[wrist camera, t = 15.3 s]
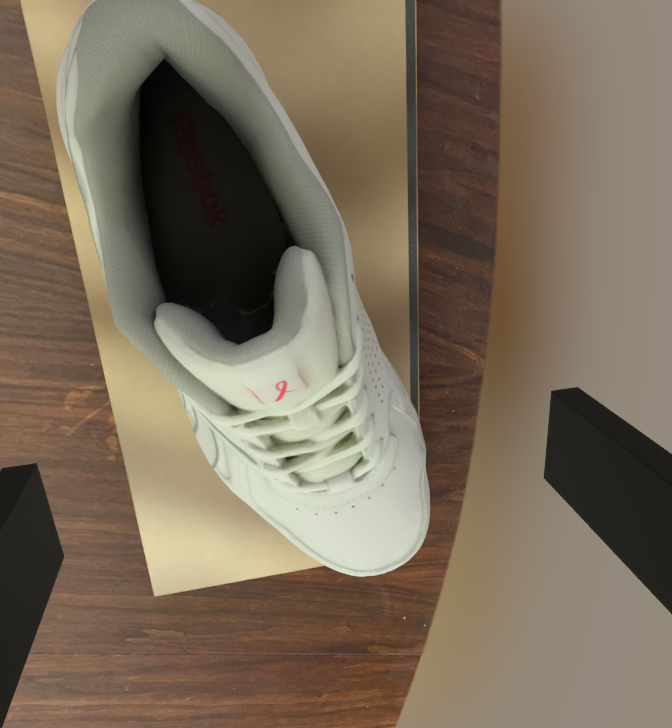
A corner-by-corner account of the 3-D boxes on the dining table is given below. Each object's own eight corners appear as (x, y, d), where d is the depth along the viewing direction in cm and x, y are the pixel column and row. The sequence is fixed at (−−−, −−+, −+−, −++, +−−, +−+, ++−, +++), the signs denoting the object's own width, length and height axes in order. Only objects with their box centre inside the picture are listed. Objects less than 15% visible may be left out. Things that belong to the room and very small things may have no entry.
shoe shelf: (39, -38, 26) (2, -74, 22) (383, -43, 29) (416, -78, 24) (161, 542, 38) (154, 597, 34) (397, 502, 41) (420, 548, 36)
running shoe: (284, 554, 34) (325, 791, 22) (-30, 88, 23) (-306, 33, 11) (445, 470, 34) (576, 658, 22) (207, -35, 23) (201, -229, 11)
